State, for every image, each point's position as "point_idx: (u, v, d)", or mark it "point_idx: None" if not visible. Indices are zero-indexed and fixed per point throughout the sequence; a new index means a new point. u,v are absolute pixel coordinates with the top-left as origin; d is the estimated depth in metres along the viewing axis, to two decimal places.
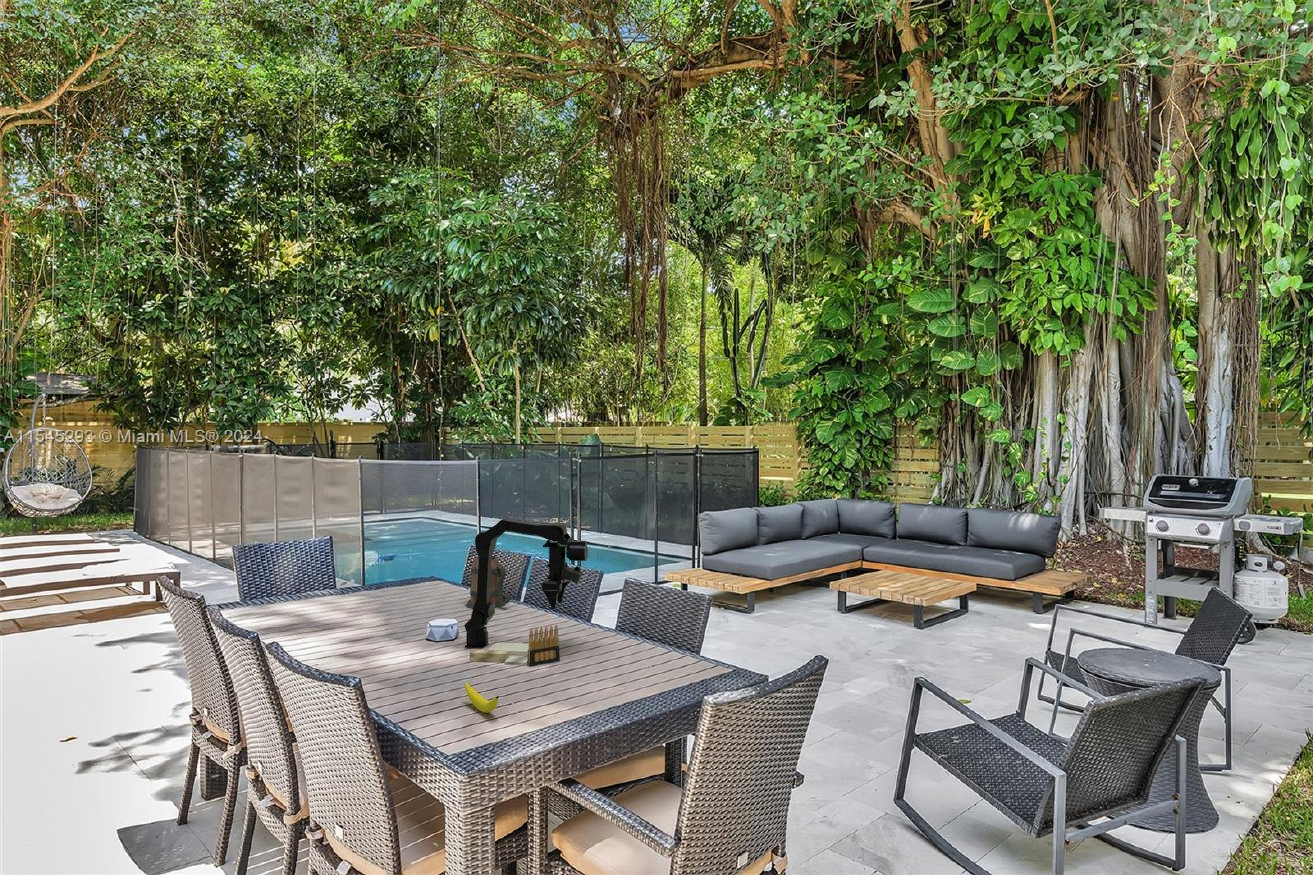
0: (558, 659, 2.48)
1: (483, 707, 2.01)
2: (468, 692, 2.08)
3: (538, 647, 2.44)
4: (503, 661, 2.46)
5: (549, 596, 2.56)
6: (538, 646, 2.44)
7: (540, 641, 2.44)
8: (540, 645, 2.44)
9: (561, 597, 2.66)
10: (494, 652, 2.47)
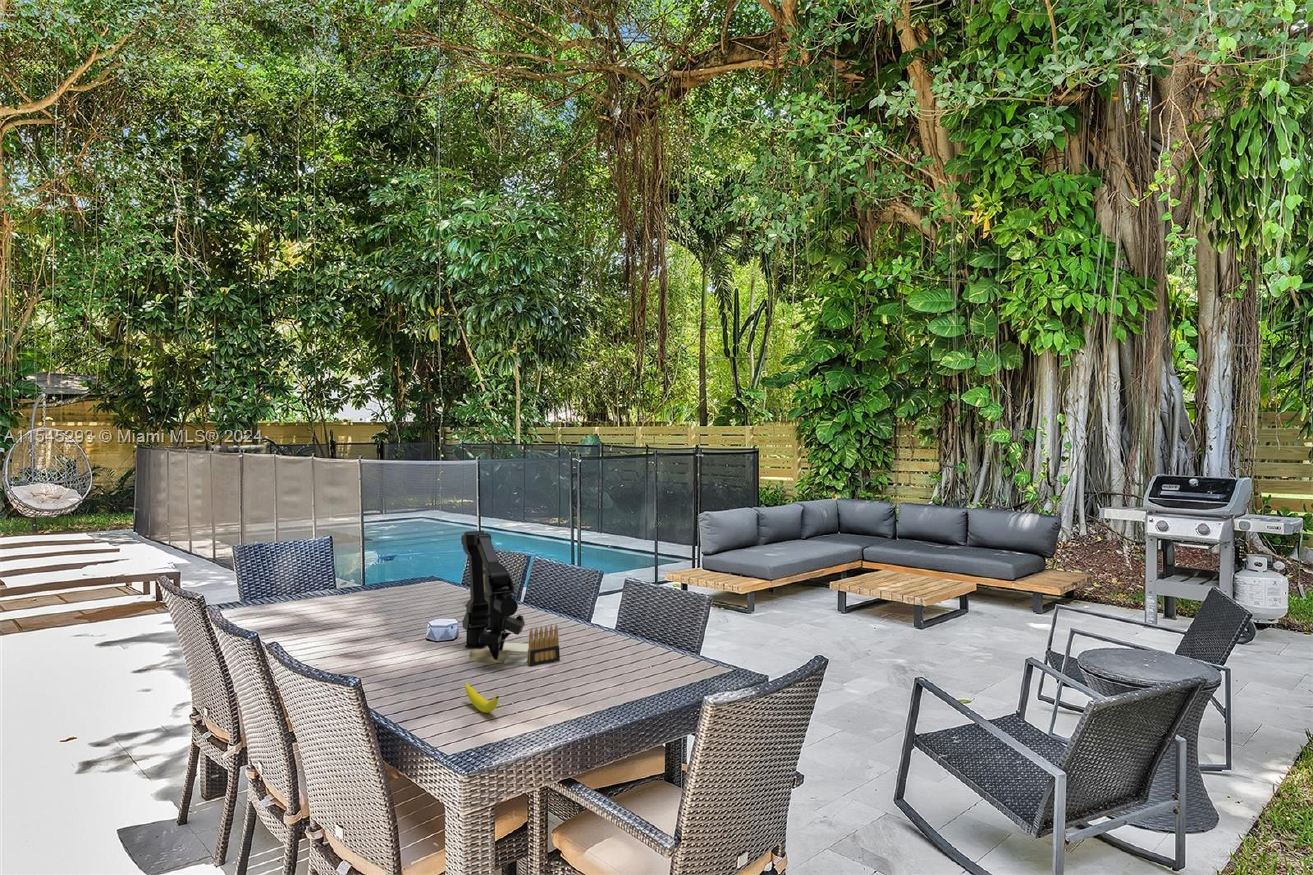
0: (558, 659, 2.48)
1: (483, 707, 2.01)
2: (468, 692, 2.08)
3: (538, 647, 2.44)
4: (503, 661, 2.46)
5: (491, 646, 2.45)
6: (538, 646, 2.44)
7: (540, 641, 2.44)
8: (540, 645, 2.44)
9: (500, 650, 2.49)
10: None
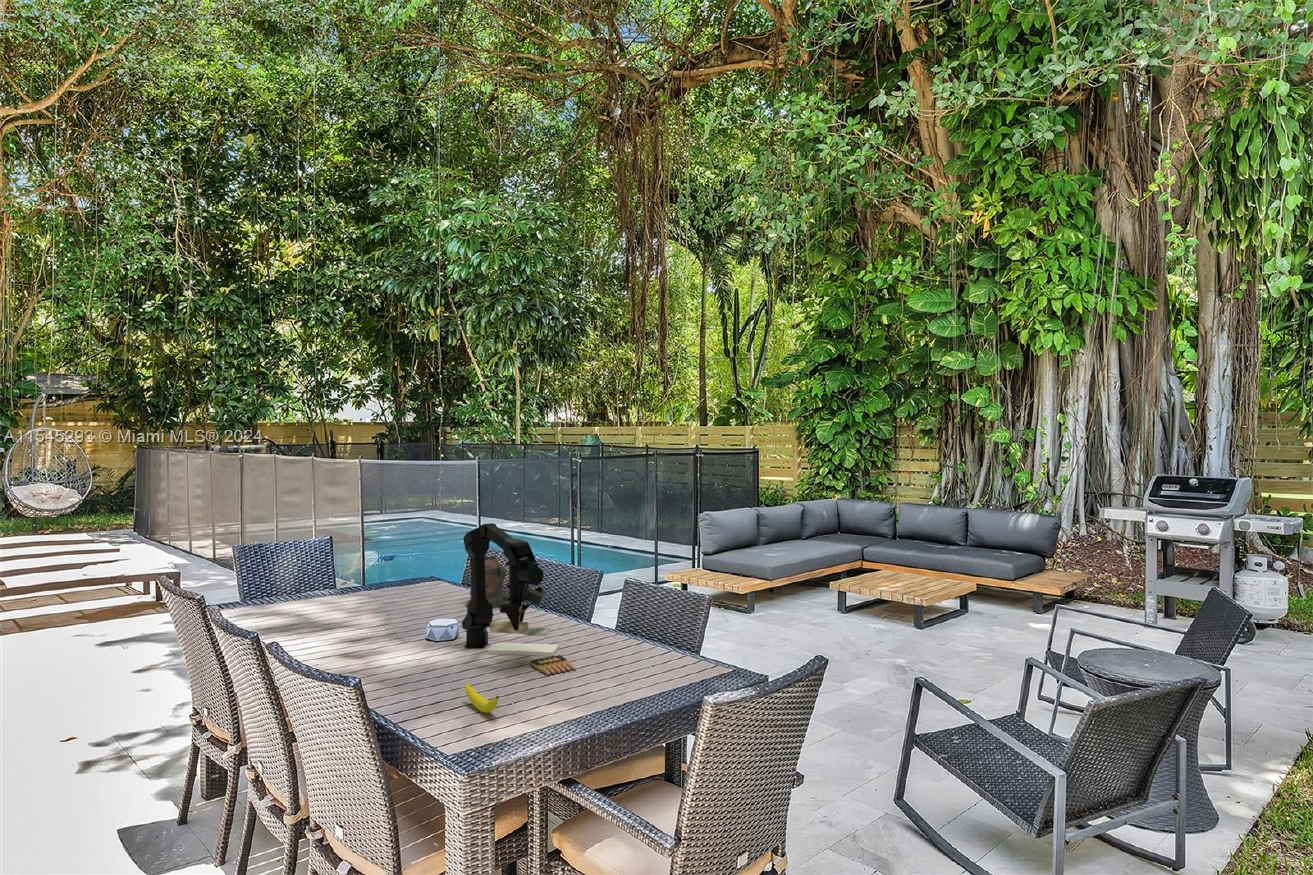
0: None
1: (483, 707, 2.01)
2: (468, 692, 2.08)
3: None
4: (523, 632, 2.45)
5: (511, 617, 2.44)
6: None
7: None
8: None
9: None
10: None
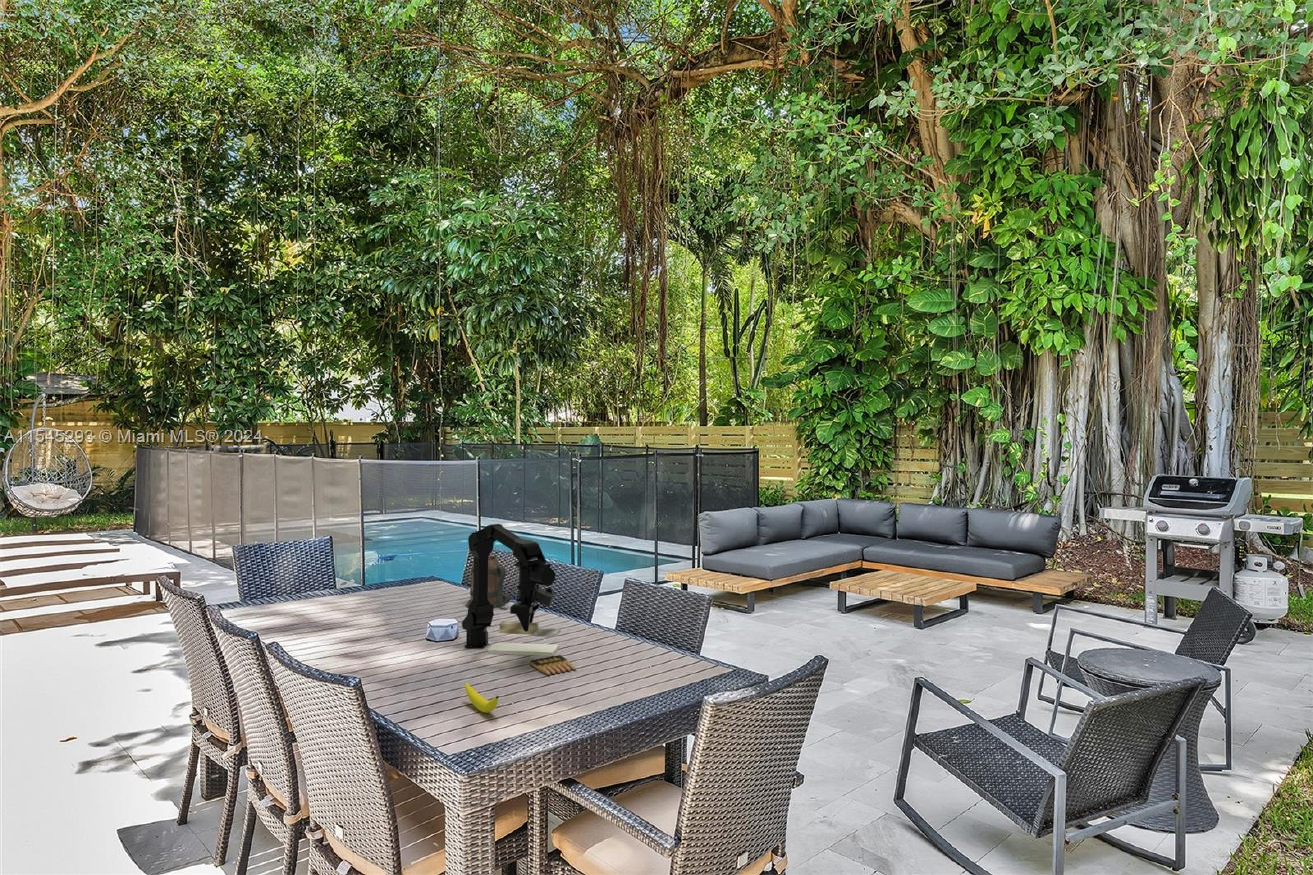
0: None
1: (483, 707, 2.01)
2: (468, 692, 2.08)
3: None
4: (533, 632, 2.44)
5: (521, 618, 2.43)
6: None
7: None
8: None
9: (530, 622, 2.48)
10: None
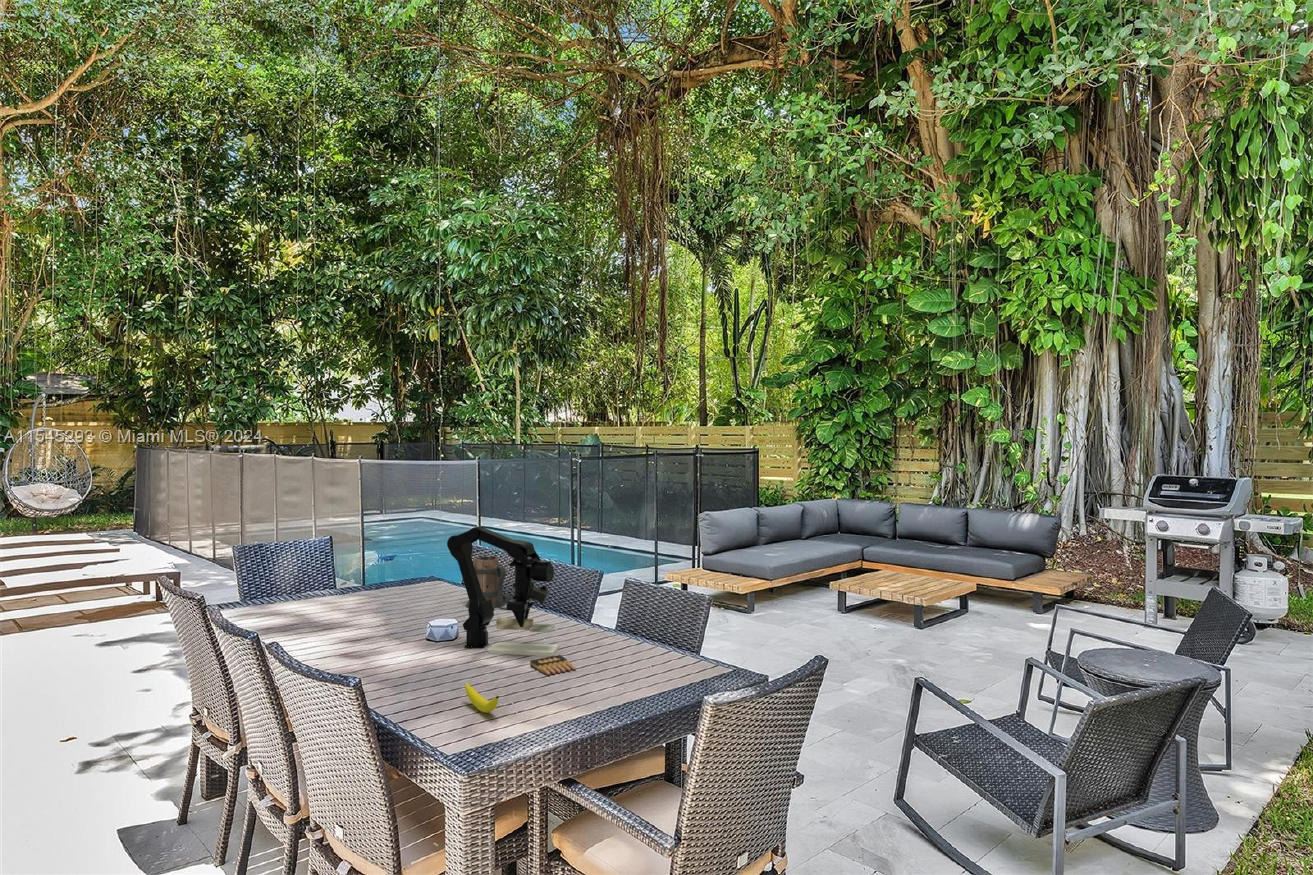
0: None
1: (483, 707, 2.01)
2: (468, 692, 2.08)
3: None
4: (528, 628, 2.57)
5: (517, 614, 2.56)
6: None
7: None
8: None
9: None
10: None
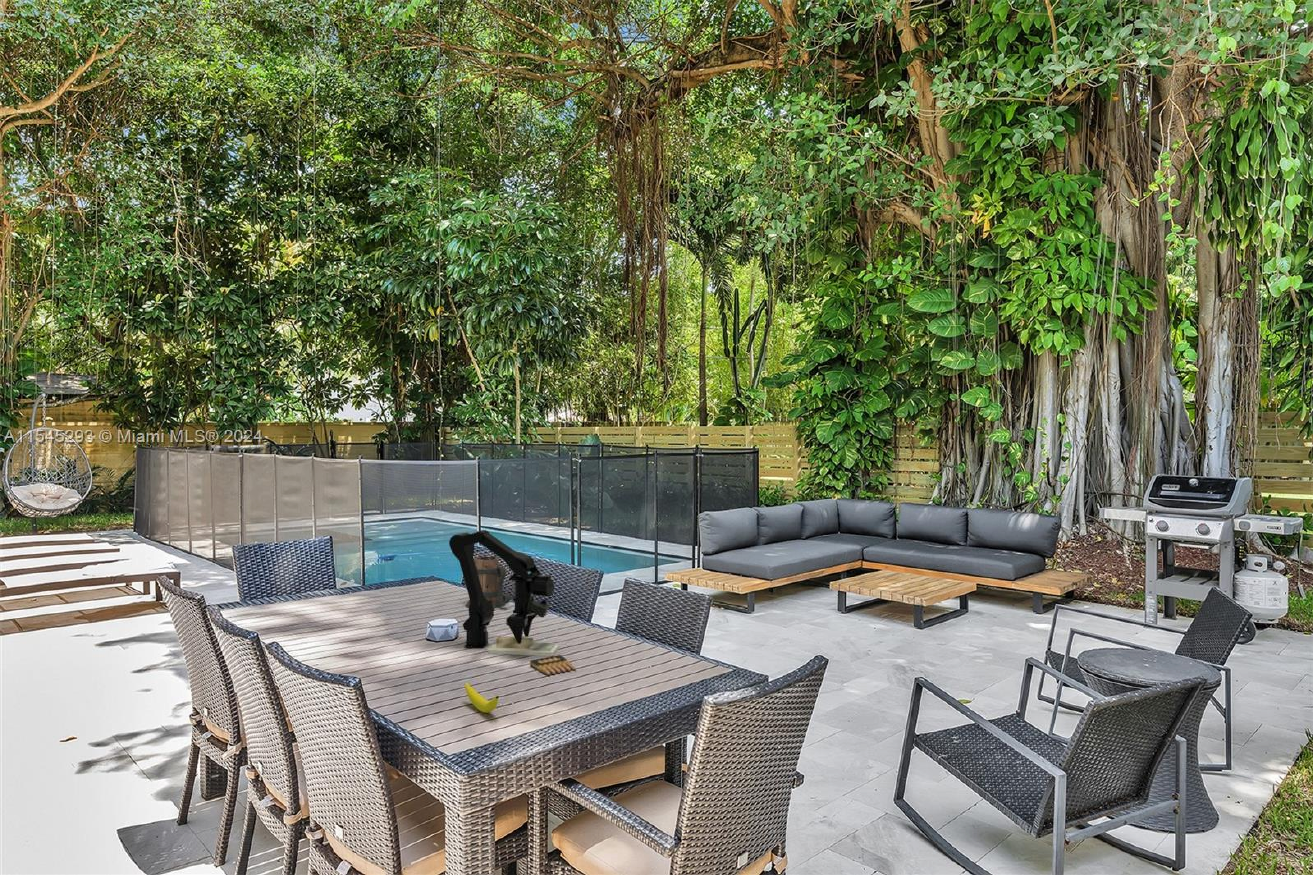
0: None
1: (483, 707, 2.01)
2: (468, 692, 2.08)
3: None
4: (528, 647, 2.57)
5: (515, 631, 2.53)
6: None
7: None
8: None
9: (528, 631, 2.63)
10: None
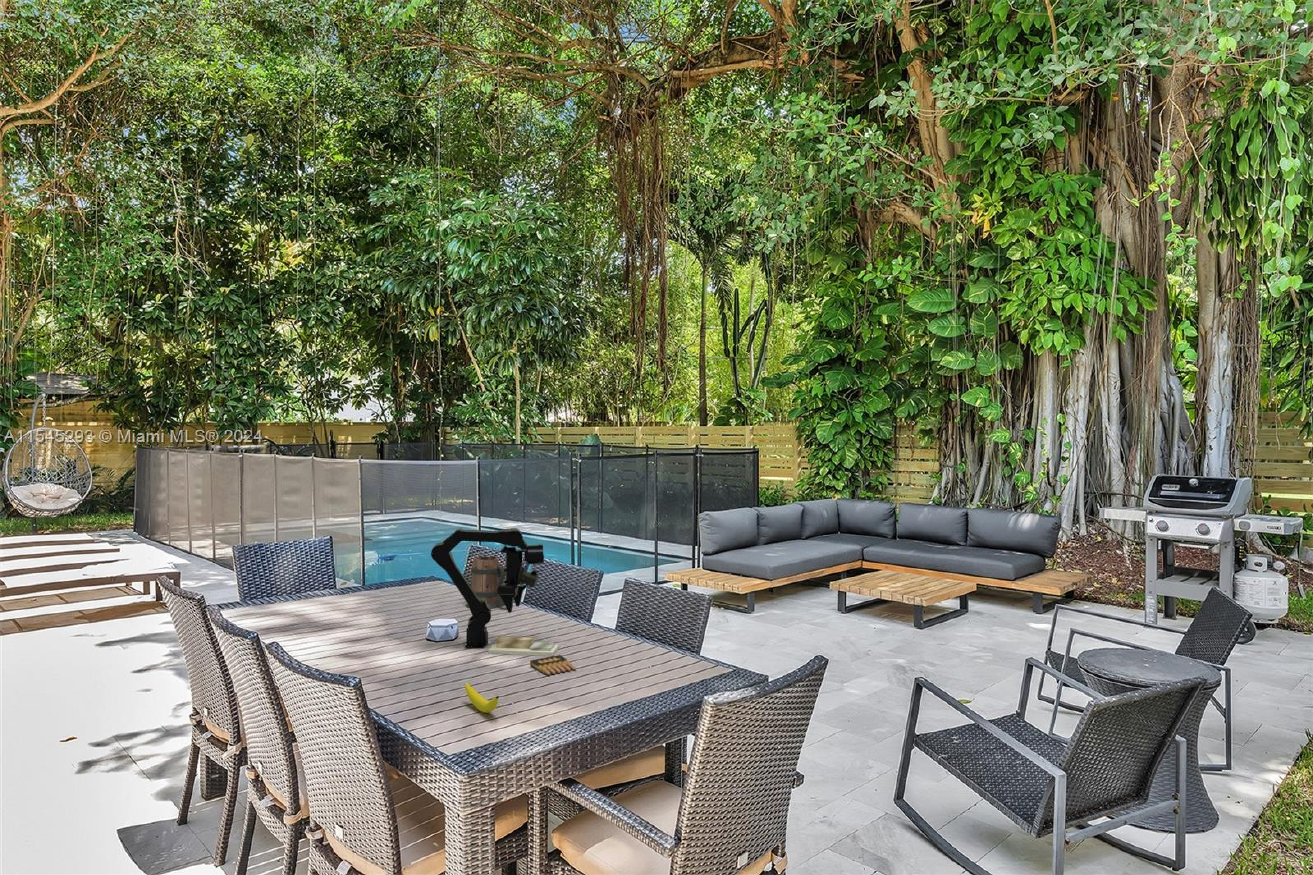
0: None
1: (483, 707, 2.01)
2: (468, 692, 2.08)
3: None
4: (528, 647, 2.57)
5: (505, 600, 2.61)
6: None
7: None
8: None
9: (519, 601, 2.72)
10: (519, 638, 2.59)
